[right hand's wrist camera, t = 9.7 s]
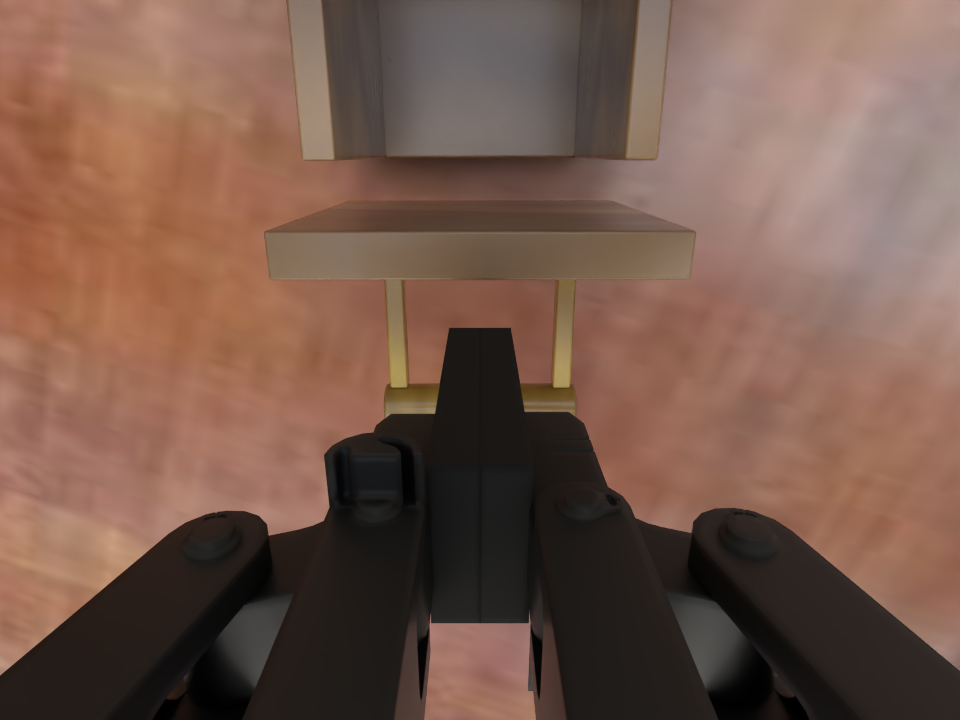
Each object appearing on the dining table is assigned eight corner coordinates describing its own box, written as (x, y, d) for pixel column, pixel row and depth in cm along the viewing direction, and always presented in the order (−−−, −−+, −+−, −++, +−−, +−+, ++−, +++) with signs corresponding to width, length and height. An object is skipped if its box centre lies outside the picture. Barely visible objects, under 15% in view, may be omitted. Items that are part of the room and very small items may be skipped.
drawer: (599, 374, 25) (664, 495, 16) (360, 375, 25) (296, 495, 16) (657, -404, 17) (850, -1016, 8) (302, -404, 17) (106, -1014, 8)
